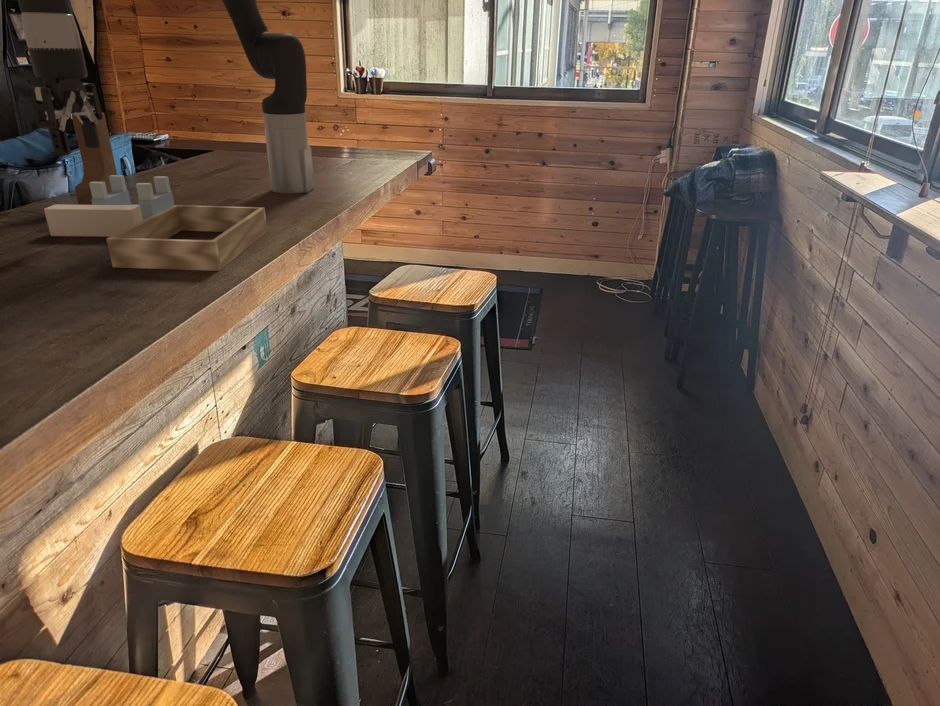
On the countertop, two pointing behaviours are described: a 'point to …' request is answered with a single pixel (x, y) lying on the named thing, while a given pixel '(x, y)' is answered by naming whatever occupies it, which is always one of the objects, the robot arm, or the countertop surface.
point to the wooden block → (94, 161)
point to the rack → (147, 199)
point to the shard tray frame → (156, 251)
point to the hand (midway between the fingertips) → (79, 151)
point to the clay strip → (91, 219)
